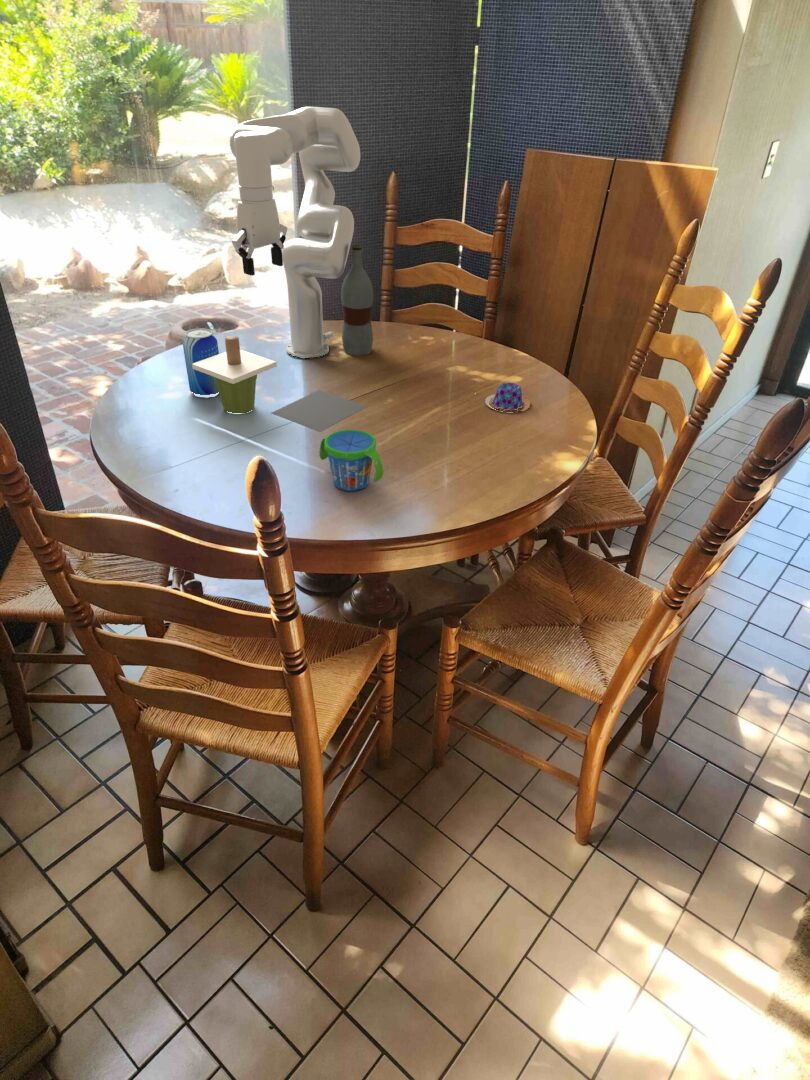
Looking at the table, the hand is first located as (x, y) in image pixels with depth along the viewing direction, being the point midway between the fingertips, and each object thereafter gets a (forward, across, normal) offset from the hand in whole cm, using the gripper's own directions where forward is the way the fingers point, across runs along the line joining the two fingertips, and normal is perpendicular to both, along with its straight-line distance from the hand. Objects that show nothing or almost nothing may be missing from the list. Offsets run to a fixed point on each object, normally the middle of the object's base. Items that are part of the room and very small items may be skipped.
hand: (263, 269), depth 173 cm
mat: (+29, +7, +22) cm, 37 cm away
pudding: (+30, -28, +57) cm, 70 cm away
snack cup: (+28, +28, +50) cm, 64 cm away
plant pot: (+29, +19, +6) cm, 35 cm away
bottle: (+31, -32, +3) cm, 45 cm away
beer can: (+29, +17, -8) cm, 35 cm away
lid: (+18, +18, +6) cm, 26 cm away
